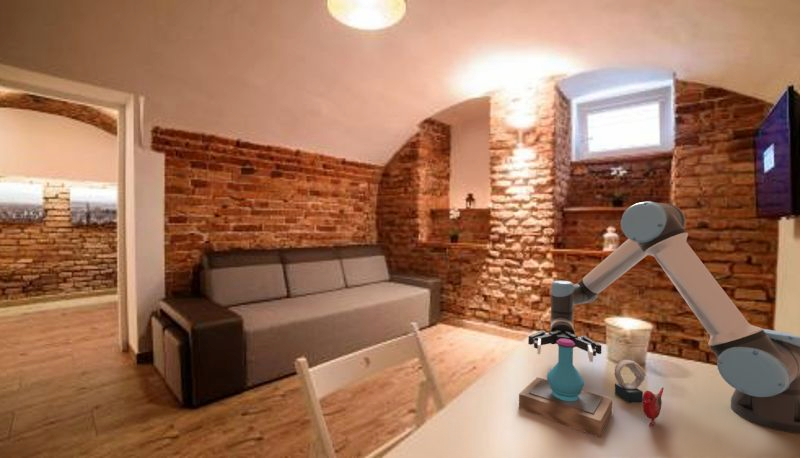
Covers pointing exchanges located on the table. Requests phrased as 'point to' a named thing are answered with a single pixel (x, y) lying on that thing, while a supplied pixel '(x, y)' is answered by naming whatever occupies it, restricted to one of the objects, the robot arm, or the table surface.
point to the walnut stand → (567, 407)
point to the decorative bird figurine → (652, 405)
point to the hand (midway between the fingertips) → (564, 353)
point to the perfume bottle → (565, 374)
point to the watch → (626, 389)
